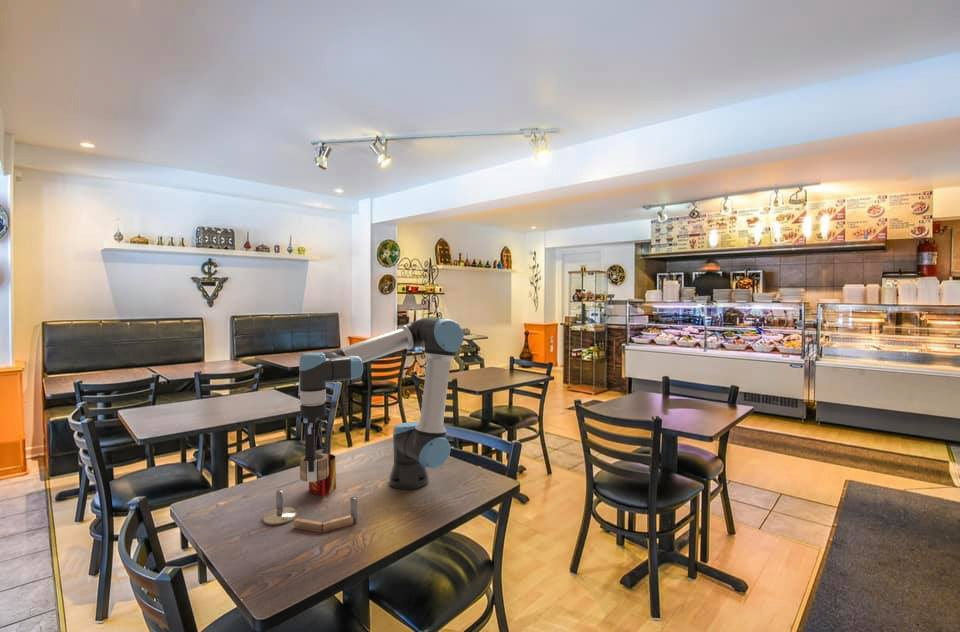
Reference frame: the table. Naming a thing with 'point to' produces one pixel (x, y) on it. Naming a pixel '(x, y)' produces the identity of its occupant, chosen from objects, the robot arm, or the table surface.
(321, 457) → the oak ring
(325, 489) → the mug
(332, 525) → the bent hammer
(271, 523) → the peg stand
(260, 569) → the table surface
